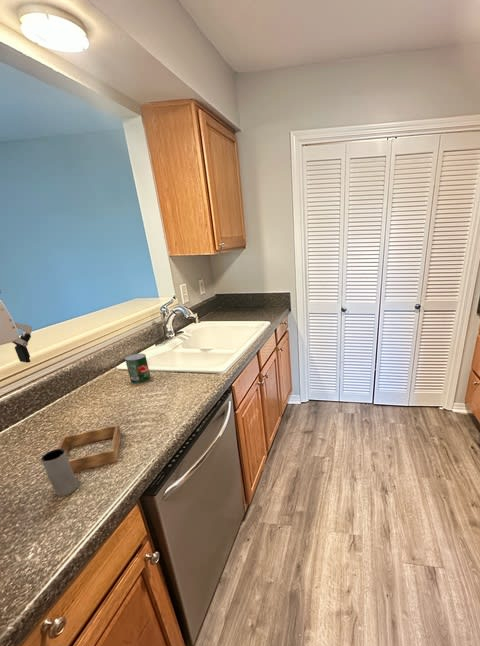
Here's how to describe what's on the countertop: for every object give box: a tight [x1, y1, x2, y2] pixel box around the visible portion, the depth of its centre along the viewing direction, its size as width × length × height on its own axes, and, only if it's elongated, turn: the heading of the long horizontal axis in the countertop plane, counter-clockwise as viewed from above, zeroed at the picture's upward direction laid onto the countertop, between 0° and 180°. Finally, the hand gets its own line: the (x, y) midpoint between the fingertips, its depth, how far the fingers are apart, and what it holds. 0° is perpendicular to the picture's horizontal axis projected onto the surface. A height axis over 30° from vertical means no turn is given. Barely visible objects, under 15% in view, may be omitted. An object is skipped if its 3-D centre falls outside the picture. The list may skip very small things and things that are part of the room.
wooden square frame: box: [56, 424, 122, 473], centre depth 91 cm, size 15×15×4 cm
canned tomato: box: [124, 353, 152, 385], centre depth 136 cm, size 8×8×11 cm
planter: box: [40, 448, 79, 497], centre depth 77 cm, size 4×4×10 cm
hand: (3, 369), depth 77 cm, fingers open, 9 cm apart
